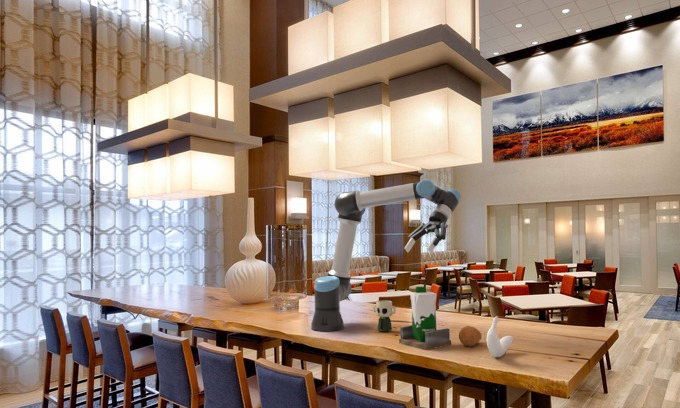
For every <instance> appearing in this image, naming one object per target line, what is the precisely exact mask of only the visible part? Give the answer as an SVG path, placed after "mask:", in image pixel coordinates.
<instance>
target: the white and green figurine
mask: <svg viewBox="0 0 680 408" xmlns="http://www.w3.org/2000/svg"><path fill="white" fill-rule="evenodd" d="M372 307H373V310H372V311H373V312H374V313H376V315H377V317H378V323H377V331H379V332H387V331H388V332H390V331H392V330H393V328H392V327H393V325H392V320H391V318H390V317H392V316H393V315H394V314H396V313H397V312H396V306H393V301H391V300H377V301H376V303H375V304H374V305H373V306H372Z"/></svg>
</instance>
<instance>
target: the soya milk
mask: <svg viewBox="0 0 680 408" xmlns="http://www.w3.org/2000/svg"><path fill="white" fill-rule="evenodd" d="M437 294H438V293H435V292H432V291H427V287H426V286H415V291H410V300H411V301H410V303H411V324H412V331H413V339H415V340H417V341H419V342H425V332H430V331H435V330H438V329H437V310H436V309H437V307H436V303H437Z"/></svg>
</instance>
